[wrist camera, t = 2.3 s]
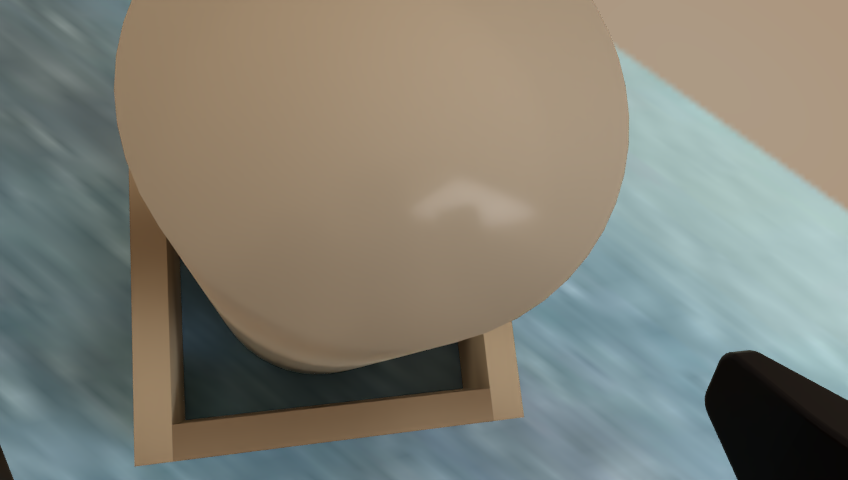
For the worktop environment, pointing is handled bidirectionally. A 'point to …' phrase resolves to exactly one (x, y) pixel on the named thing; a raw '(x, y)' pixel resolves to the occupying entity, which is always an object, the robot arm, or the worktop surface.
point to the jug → (372, 162)
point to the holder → (206, 437)
